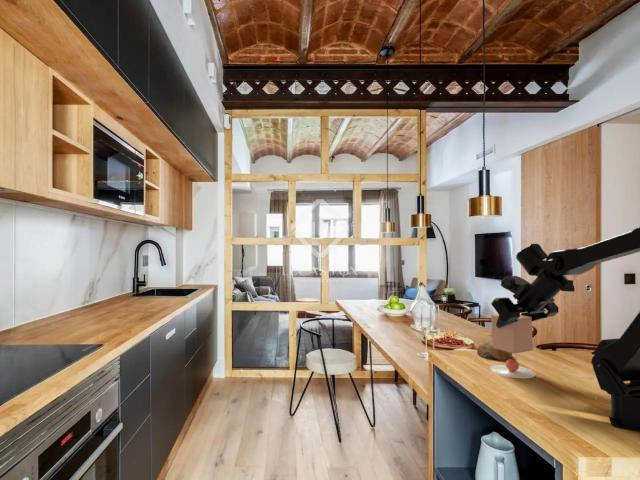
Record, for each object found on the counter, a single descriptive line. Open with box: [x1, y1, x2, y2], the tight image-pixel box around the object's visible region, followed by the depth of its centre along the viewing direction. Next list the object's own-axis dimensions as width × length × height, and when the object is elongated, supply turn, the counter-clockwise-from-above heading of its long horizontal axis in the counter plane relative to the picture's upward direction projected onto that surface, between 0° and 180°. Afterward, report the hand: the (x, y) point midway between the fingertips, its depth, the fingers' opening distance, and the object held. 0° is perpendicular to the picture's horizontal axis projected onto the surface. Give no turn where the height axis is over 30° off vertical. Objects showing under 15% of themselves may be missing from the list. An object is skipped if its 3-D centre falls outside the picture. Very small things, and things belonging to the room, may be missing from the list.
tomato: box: [505, 358, 520, 371], centre depth 97 cm, size 3×3×3 cm
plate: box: [490, 364, 537, 379], centre depth 97 cm, size 11×11×1 cm
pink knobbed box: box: [490, 313, 534, 355], centre depth 98 cm, size 7×7×10 cm
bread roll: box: [476, 339, 513, 362], centre depth 111 cm, size 10×10×8 cm
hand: (507, 325), depth 99 cm, fingers closed on pink knobbed box, 7 cm apart
